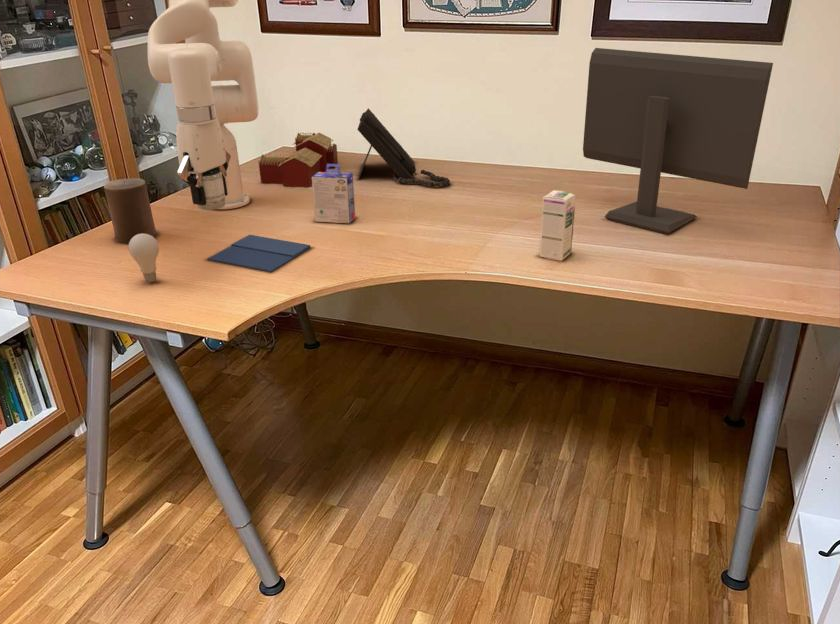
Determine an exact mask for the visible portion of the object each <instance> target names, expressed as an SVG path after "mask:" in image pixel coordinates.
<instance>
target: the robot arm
mask: <svg viewBox="0 0 840 624" xmlns="http://www.w3.org/2000/svg"><path fill="white" fill-rule="evenodd" d="M238 1H239V0H168V8H167V9H165V10H164V11H163V12H162V13H160V15H159V16H157V18H156V19H155V20H154V21H153V22H152V24H151V25H150V27H149V29H148V33H147V64H148V69H149V72H150V75H151V76H152V78H153V79H154V80H155V81H157V82H158V83H161V84H171V85H172V90H173V97H174V101H175V108H176V114H177V119H178V123H176V130H175V131H176V132H175V133H176V134H175V136H176V150H177V158H178V164H179V167H178V169H177V172H176V175H177V176H178V177H179V178H180V179H182V181H183V182H184V183H186V185H187V186H188V187H189V189H190V195H191V201H192V204H193V205H197V206H198V205H206V198H205V192H204V187H203V186H201V181H202V173H203V172H206V171H209V170H211V169H214V168H215V169H218V170H219V171H221V173H222V179H223V185H224V192H225V206H224V207H222V208H219V209H218V210H232V209H237V208H242V207H244V206H247V205H248V204H250V201H251V200H250V196H249V195H248V194H247V193H244V188H243V182H242V174H241V167H240V160H239V152H238V145H237V140H236V137H235V135H234V134H233V132H231V130H230V129H228V128H227V126H226V125H227V124H233V123H235V124H236V123H249V122H250V123H251V122H253V121H255V120H257V119H258V117H259V98H258V91H257V85H256V76H255V69H254V63H253V57H252V53H251V49H250V48H249V46H248V45H247V43H246V42H244V41H241V40H221V38H220V33H219V26H218V25H219V24H218V20H217V18H216V16H215V15H214V14H213V12H212V11H211V10H210V8H232V7H234V6H236V5H237V4H238ZM182 41H184V42H183V43H179V42H182ZM226 81H227V82H228V81H235V82H236V83H237V84H225V85H223V84H221V85H219V84H218V85H212V82H226ZM225 124H226V125H225ZM194 174H196V180H195V179H194Z"/></svg>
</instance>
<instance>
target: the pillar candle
mask: <svg viewBox="0 0 840 624" xmlns="http://www.w3.org/2000/svg"><path fill="white" fill-rule="evenodd" d="M103 189H104V193H105V198H106V202H107V207H108V210H109V215H110V218H111V224H112V228H113V232H114V237H115V240H116V241H118V243H122V244H129V242H130V240H131V239H132V238H133V237H134V236H135V235H137V234H149V235H151V236H152V237H154V238H155V237H156V236H157V231H156V227H155V226H156V225H155V221H154V216H153V212H152V207H151V203H150V198H149V193H148V188H147V183H146V181H145V179H143V178H136V177H135V178H123V177H122V178H121V179H115V180H110V181H108V182H107V183H105V184H104V185H103Z"/></svg>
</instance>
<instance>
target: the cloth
mask: <svg viewBox="0 0 840 624" xmlns="http://www.w3.org/2000/svg"><path fill="white" fill-rule="evenodd" d="M310 249H311V244H308V243H307V244H305V243H300V242H295V241H289V240H285V239H284V240H283V239H279V238H272V237H265V236H260V235H254V234H247V235H246V236H244V237H242V238H241V239H240V238H239V240H236V241H235V242H232V243H231V244H230V246H228V247H226V248H225V249H223V250H220V251H219V252H217V253H215V254H212V256H210V257H207V261H210V262H216V263H221V264H227V265H232V266H235V267H241V268H245V269H246V268H247V269H252V270H258V271H262V272H268V273H273V272H274V271H276V270H277V269H280V268H282V267H283V266H285V265H286V264H287V263H289V262H290V261H292V260H294V259H295V258H297V257H299V256H300V255H302V254H303V253H305V252H306V251H309V250H310Z"/></svg>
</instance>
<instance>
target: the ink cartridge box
mask: <svg viewBox="0 0 840 624" xmlns="http://www.w3.org/2000/svg"><path fill="white" fill-rule="evenodd" d="M333 166H334V167H335V169H330V168H329V167H333ZM340 171H341V164H340V163H338V164H327V167H326V172H317V173H316V174H315V175H314V176H312V185H311V187H312V198H313V199H312V200H313V209H314V211H313V212H314V222H317V223H318V222H319V223H335V224H336V223H338V224H350V223H352V221H354V220H355V219H356V206H355V205H356V204H355V189H354V187H355V186H354V173H353V172H342V171H341V172H340Z"/></svg>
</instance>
